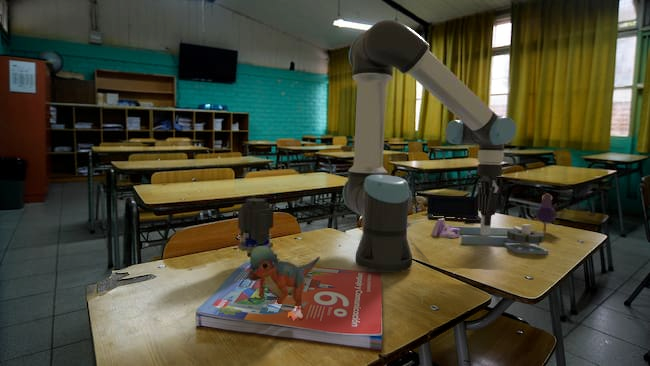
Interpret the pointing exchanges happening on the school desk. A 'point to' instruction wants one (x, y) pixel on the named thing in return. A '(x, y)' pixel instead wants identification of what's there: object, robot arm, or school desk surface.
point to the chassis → (501, 239)
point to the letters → (445, 230)
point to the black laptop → (453, 208)
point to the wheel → (526, 236)
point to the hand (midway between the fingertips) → (484, 234)
